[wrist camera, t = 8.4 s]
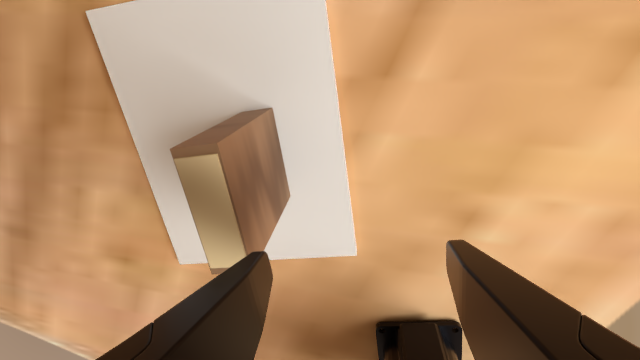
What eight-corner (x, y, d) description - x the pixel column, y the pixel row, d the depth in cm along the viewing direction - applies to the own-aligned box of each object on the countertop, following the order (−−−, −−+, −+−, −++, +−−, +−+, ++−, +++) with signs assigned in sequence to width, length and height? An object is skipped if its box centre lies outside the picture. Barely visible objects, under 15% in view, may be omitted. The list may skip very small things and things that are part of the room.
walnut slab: (290, 196, 21) (252, 274, 14) (262, 198, 22) (210, 275, 14) (272, 107, 19) (215, 143, 12) (241, 111, 20) (168, 149, 12)
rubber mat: (357, 250, 23) (356, 255, 23) (183, 259, 25) (179, 264, 25) (321, -36, 17) (319, -39, 16) (93, 12, 19) (85, 11, 18)
